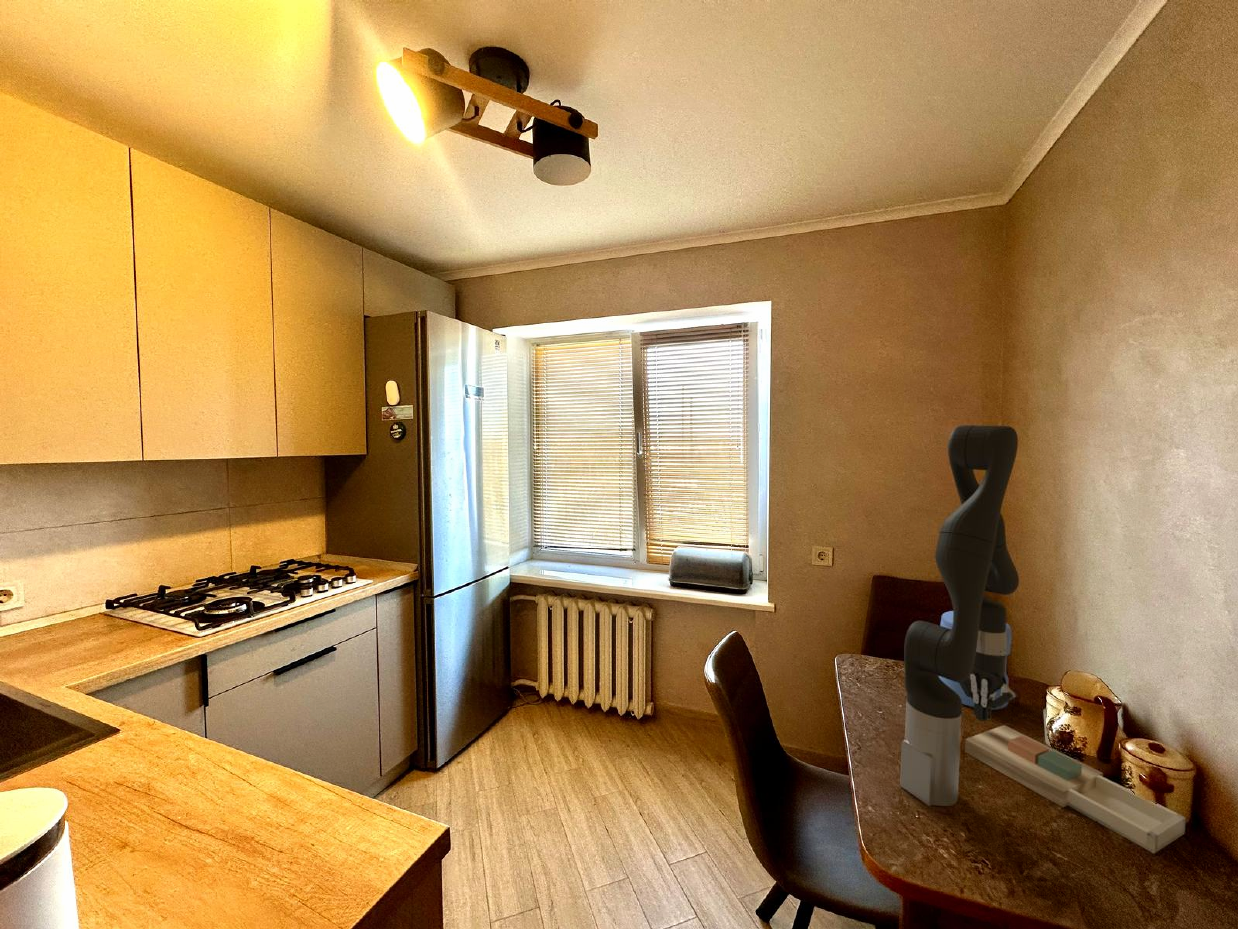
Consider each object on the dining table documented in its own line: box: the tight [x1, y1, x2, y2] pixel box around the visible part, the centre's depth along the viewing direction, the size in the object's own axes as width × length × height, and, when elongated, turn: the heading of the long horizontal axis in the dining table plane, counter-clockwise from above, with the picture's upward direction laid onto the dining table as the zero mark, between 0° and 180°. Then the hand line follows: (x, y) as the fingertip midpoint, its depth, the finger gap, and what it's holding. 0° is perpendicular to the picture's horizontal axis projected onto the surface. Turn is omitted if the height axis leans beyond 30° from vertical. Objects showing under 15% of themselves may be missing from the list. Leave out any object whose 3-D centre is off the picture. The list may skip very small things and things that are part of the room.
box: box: [1067, 775, 1187, 854], centre depth 92 cm, size 11×12×3 cm
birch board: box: [964, 724, 1104, 808], centre depth 105 cm, size 14×18×3 cm
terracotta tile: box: [1008, 736, 1049, 764], centre depth 106 cm, size 5×5×2 cm
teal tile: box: [1038, 750, 1082, 781], centre depth 101 cm, size 5×5×2 cm
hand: (982, 719), depth 114 cm, fingers closed
